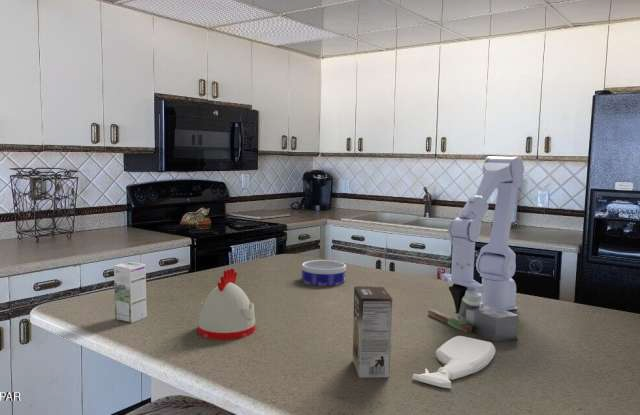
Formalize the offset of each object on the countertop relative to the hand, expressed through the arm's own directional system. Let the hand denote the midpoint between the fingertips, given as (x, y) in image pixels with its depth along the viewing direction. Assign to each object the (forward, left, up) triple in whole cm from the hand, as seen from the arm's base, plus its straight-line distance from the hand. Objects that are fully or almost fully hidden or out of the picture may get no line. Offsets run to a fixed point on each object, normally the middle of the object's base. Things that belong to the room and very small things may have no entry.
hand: (460, 312), depth 140 cm
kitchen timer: (+60, -15, -2) cm, 62 cm away
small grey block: (0, +10, -2) cm, 10 cm away
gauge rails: (0, +1, -2) cm, 2 cm away
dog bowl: (+16, -53, -2) cm, 55 cm away
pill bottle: (0, +2, -2) cm, 3 cm away
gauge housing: (0, +13, -2) cm, 13 cm away
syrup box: (+81, -32, -2) cm, 87 cm away
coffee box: (+39, +19, -2) cm, 44 cm away
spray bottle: (+22, +25, -3) cm, 33 cm away
